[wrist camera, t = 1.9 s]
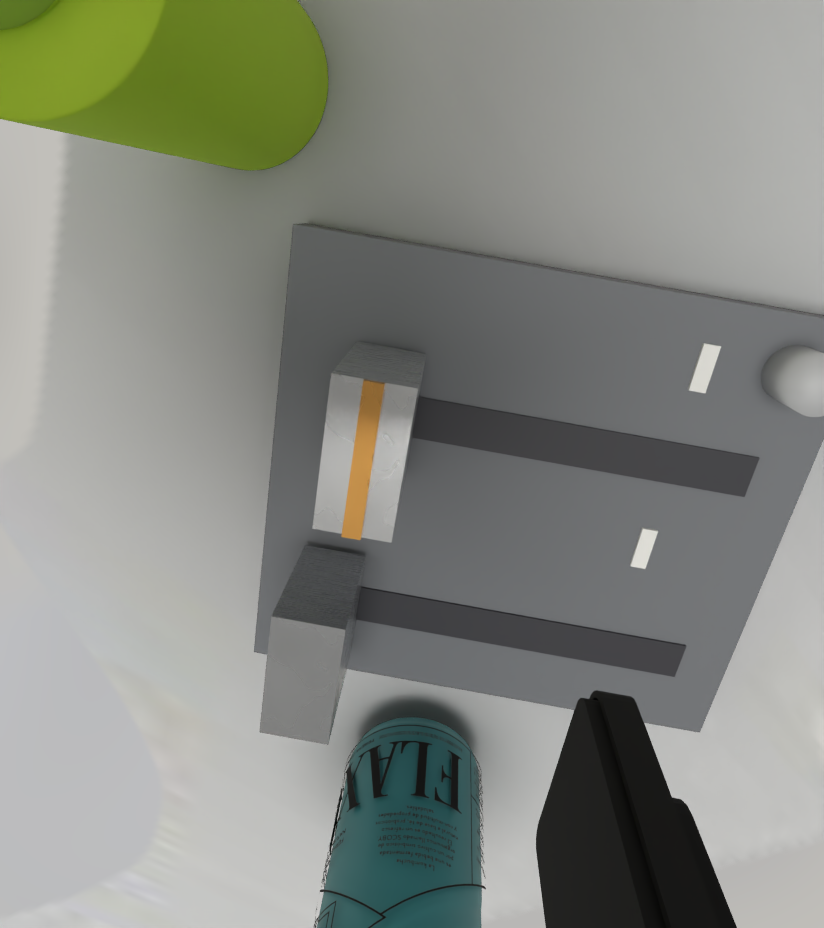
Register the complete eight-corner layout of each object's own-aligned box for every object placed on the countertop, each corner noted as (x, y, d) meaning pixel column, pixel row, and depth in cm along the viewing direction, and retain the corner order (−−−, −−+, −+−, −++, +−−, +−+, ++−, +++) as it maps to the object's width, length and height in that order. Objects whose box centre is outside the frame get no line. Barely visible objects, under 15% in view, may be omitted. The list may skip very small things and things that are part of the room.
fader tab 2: (357, 341, 23) (330, 374, 18) (426, 353, 23) (417, 390, 18) (339, 469, 25) (310, 531, 20) (404, 481, 25) (390, 545, 20)
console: (306, 223, 24) (278, 224, 20) (838, 318, 24) (909, 337, 20) (266, 625, 31) (239, 682, 27) (684, 700, 30) (716, 768, 27)
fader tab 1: (304, 545, 26) (271, 616, 21) (365, 556, 26) (345, 629, 21) (292, 646, 28) (259, 732, 23) (349, 656, 28) (328, 744, 23)
